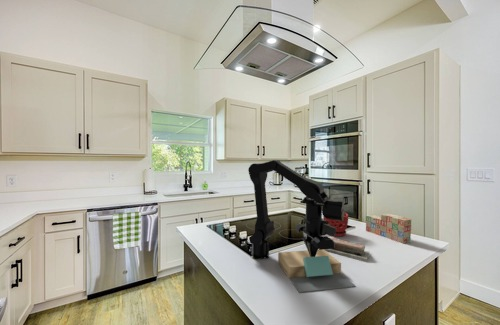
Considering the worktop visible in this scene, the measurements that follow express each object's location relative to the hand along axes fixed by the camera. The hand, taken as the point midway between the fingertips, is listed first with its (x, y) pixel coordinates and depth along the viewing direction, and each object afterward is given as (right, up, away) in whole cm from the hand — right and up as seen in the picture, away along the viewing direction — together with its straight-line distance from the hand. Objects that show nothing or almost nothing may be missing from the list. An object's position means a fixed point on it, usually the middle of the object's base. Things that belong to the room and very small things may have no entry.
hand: (312, 258), depth 80 cm
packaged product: (+21, -6, +18) cm, 28 cm away
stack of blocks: (+53, -6, +41) cm, 67 cm away
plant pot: (+25, -5, +42) cm, 49 cm away
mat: (+1, -5, -7) cm, 9 cm away
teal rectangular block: (0, -2, -3) cm, 3 cm away
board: (-1, -5, +3) cm, 6 cm away
